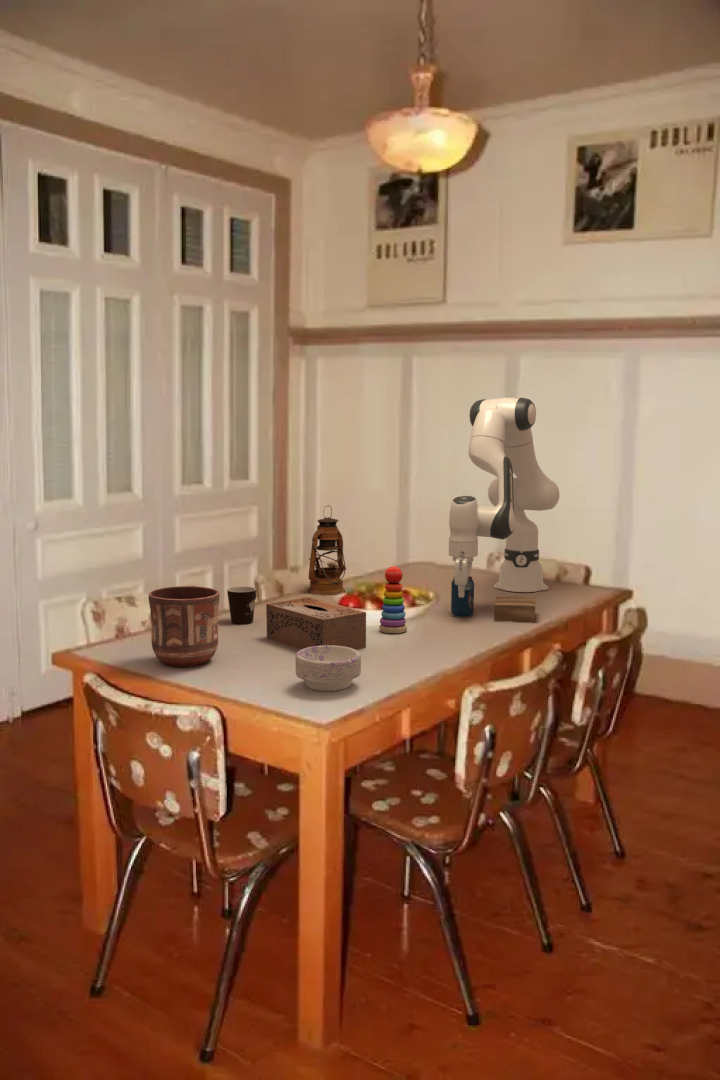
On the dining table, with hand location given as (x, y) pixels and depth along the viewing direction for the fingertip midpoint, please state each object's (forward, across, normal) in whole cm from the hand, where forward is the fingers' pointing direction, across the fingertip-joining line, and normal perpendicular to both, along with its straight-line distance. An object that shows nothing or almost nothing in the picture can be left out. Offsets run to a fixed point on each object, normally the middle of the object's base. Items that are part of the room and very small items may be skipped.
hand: (462, 594), depth 300 cm
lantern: (+7, +30, +49) cm, 58 cm away
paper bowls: (+7, -80, +25) cm, 84 cm away
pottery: (+7, -66, +65) cm, 93 cm away
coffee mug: (+7, -20, +63) cm, 66 cm away
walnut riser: (+7, 0, -16) cm, 17 cm away
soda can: (+7, 0, 0) cm, 7 cm away
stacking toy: (+7, -24, +18) cm, 31 cm away
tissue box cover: (+7, -41, +37) cm, 56 cm away
